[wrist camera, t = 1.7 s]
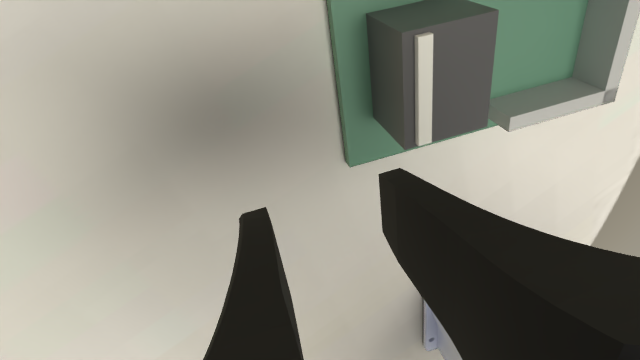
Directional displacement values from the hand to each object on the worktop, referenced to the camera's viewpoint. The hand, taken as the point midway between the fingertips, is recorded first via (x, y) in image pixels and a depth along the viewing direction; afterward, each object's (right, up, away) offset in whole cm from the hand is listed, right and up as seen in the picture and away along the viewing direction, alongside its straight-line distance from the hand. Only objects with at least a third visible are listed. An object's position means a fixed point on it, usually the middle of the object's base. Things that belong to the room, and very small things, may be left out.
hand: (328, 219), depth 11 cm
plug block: (+4, +7, +9) cm, 12 cm away
